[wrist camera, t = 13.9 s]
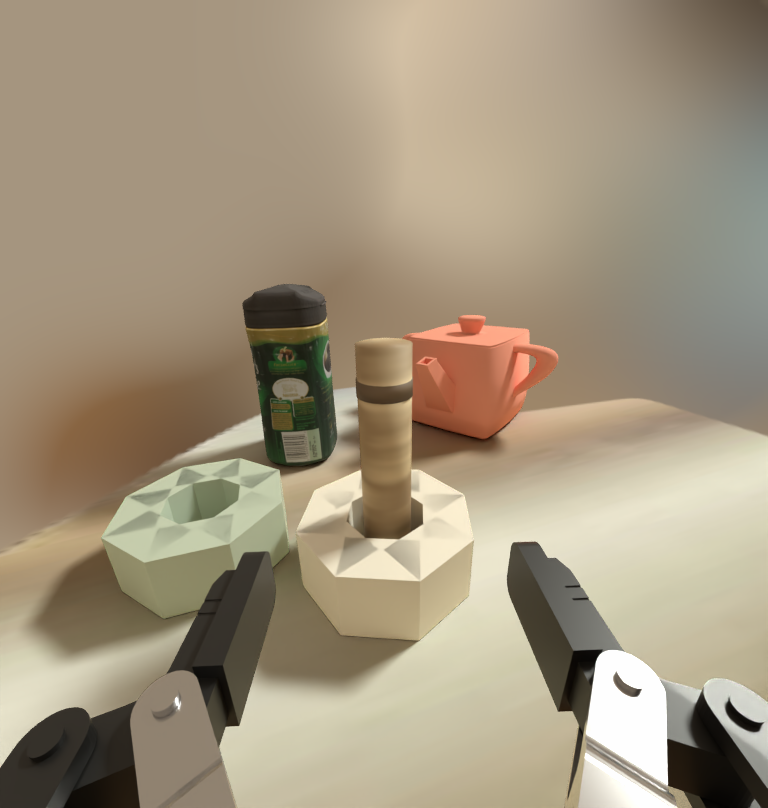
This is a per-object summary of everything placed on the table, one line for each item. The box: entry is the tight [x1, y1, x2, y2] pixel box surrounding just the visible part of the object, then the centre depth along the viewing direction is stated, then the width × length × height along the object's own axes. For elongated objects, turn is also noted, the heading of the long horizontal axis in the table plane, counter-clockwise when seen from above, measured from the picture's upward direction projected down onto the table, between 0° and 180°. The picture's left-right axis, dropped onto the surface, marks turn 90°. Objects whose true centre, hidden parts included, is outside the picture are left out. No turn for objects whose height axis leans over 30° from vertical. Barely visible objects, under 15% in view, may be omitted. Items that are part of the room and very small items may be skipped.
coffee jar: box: [243, 284, 337, 466], centre depth 39 cm, size 10×8×19 cm
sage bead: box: [101, 458, 289, 619], centre depth 27 cm, size 11×11×4 cm
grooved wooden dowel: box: [355, 338, 413, 539], centre depth 23 cm, size 3×3×16 cm
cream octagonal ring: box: [296, 470, 474, 641], centre depth 25 cm, size 11×11×4 cm
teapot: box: [402, 315, 558, 439], centre depth 47 cm, size 20×22×14 cm
